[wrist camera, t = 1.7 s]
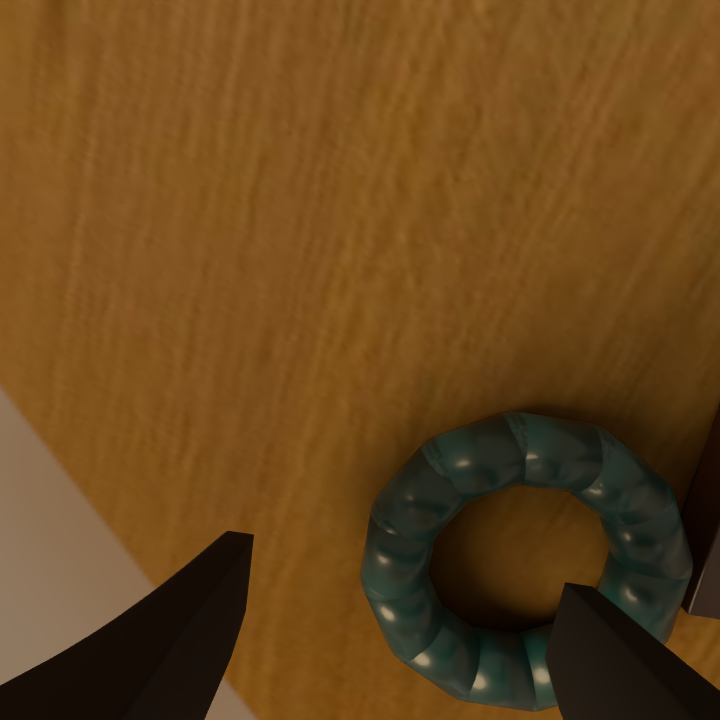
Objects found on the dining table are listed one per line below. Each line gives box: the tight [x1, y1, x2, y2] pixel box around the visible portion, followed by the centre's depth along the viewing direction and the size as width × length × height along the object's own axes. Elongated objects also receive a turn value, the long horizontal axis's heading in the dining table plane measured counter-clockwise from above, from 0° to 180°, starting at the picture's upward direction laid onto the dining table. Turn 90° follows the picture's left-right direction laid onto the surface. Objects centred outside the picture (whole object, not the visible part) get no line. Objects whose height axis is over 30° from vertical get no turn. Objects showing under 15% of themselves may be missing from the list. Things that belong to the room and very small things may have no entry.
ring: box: [361, 411, 693, 712], centre depth 12 cm, size 8×8×2 cm
